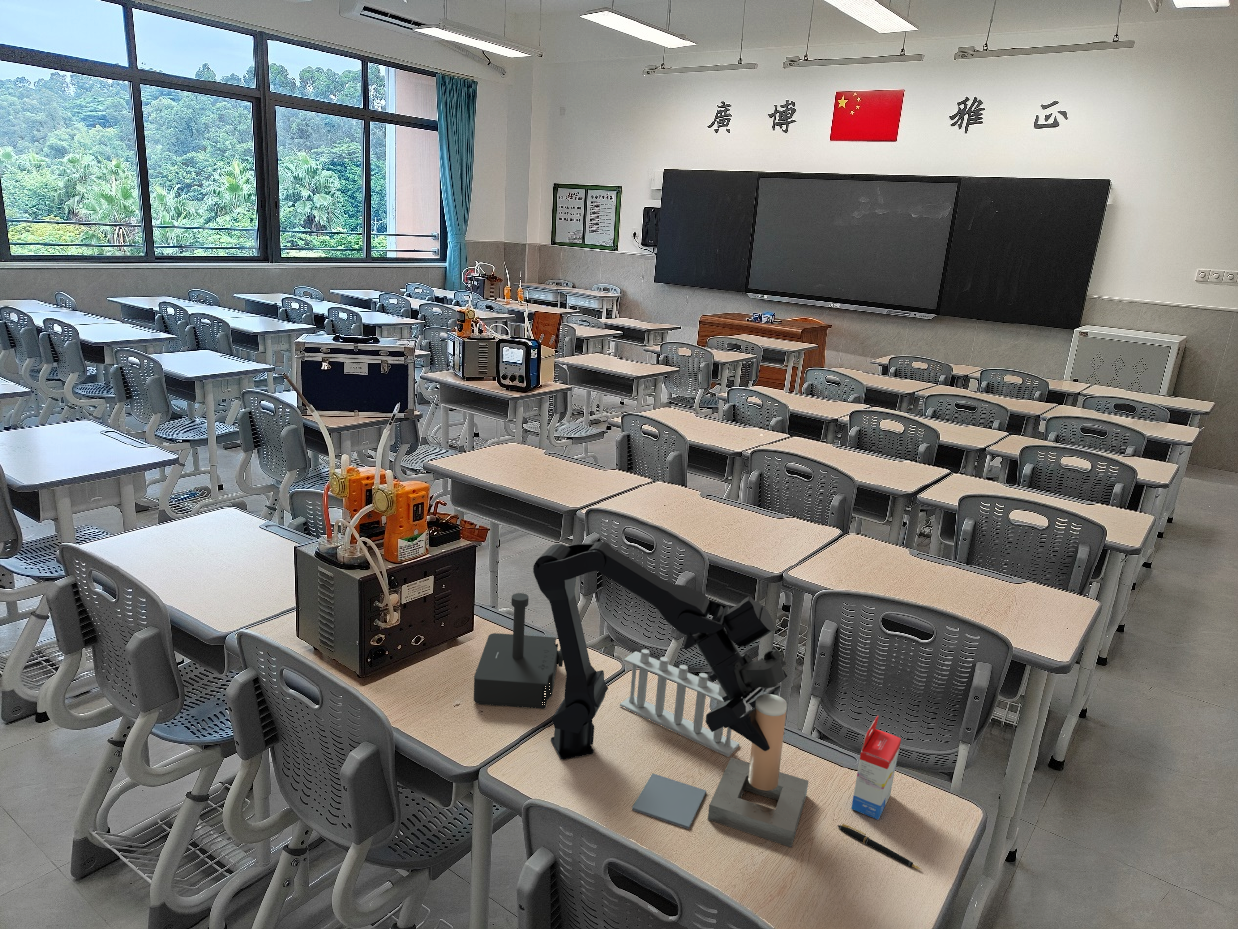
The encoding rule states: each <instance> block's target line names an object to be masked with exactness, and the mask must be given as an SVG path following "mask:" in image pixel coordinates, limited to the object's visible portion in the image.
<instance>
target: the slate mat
mask: <svg viewBox="0 0 1238 929" xmlns="http://www.w3.org/2000/svg"><path fill="white" fill-rule="evenodd" d="M706 794H707V790H706V789H703V788H699V787H696V786H693V785H691V784H688V783H684V782H681V781H678V780H674V779H671V778H668V777H666V776H663V775H659V774H656V773H652V774H651V775H650V776H649V778H648V780H647V782H646V784H645V785H644V787H643V789H642V790H641V792H640V793H639V795H638V797H637V799H635V800H636V801H635V802H634V803H633V806H632V808H631V811H634V812H637V813H640V814H642V815H646V816H648V817H650V818H651V817H652V818H654V819H658V820H660V821H662V822H666V823H669V824H671V825H675V826H678V827H681V828H684V829H687V830H690V829H691V828H690V827H691V826H692V823H693V821H694V819H695V817H696V815H697V813H698V811H699V808H700V807H701V804H702V802H703V801H704V798H705V796H706Z"/></svg>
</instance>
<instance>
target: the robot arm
mask: <svg viewBox="0 0 1238 929" xmlns="http://www.w3.org/2000/svg"><path fill="white" fill-rule="evenodd" d="M592 572H598V573H599V574H602V575H603V576H604V577H607V579H609V580H611V581H613V582H615V583H616V584H618V585H619V586H621V587H622V588H624V589H626V590H628V591H629V592H631V593H632V594H633V595H636V596H638V597H639V598H640V599H642V600H644V601H645V602H647V603H648V604H650V605H652V607H654V608H655V609H656V610H657V611H658V613H659V614H660V615H661V616H662V618H663V620H664V621H666V622H667V624H669V625H670V626H672V628H674V629H675V630H676V631H677V632H678V633H679V634H681V635H683V636H686V639H685V643H684V646H683V648H684V650H688V649H691V648H692V647H694V646H697V649H698V650H699V652H700V654H701V655H702V657H703V659H704V660H705V662H706V663H707V666H708V667H709V669H710V670H711V672H712V673H711V674H710V675H708V678H709V679H710V680H711V682H714V681H717V682H718V685H719V684H720V685H721V687H722V689H723V690H724V692H725V694H726V695H725V696H724V697H722V699H723V700H724V703H722V704H720V705H718V706H717V705H716V706H715V707H714V708H712V710H710V711H709V712H707V713H706V715H705V724H706V725H707V726H708V729H709V730H711V732H713V731H716V730H718V729H720V728H722V727H723V729H727V728H730V729H732V731H734V732H735V733H737V734H738V735H741V736H742V737H743V738H745V739H747V740H748V741H749V742H750V743H751V744H752V743H753V744H755V745H756V746H758V747H759V748H761V749H762V750H763V751H767V750H769V749H770V747H769V745H768V742H767V740H766V738H765V736H764V734H763V732H762V730H761V728H760V727H759V725H758V723H757V721H756V718H755V717H756V707H755V706H756V699H757V697H758V696H760V695H763V694H772V695H777V696H779V692H780V690H781V689H782V687H781V685H778V684H779V683H782V682H783V681H784V680H785V679H786V678H787V677H788V675H787V673H786V671H785V669H784V668H785V667H786V665H787V662H786V661H785V660H784V658H783V657H782V655H781V654H780V653H779V651H778V650H777V649H769V650H768V651H767V652H765V653H764V655H763V658H760V659H758V660H753V659H752V657H751V655H749V654H748V653H747V652H746V653H744V654H741V652H740V650H739V648H741V647H743V648H745V647H748V646H751V645H752V644H753V643H755V642H757V641H759V640H760V639H762V638H764V637H766V636H768V635H770V634H771V633H773V632H774V631H775V623H774V620H773V617H772V616H771V614H770V613H769V611H768V610H767V608H766V607H765V606H764V605H762V604H761V603H760V602H759V601H756V600H754V599H753V598H752V596H749V595H748V596H747V597H745V598H744V599H743V600H742V601H740V602H739V603H737V604H736V605H734V606H733V607H731V608H730V606H729V605H727V604H724V603H721V602H719V601H716V600H713V599H711V598H708V596H707V595H706V594H704V593H703V592H701V591H699V590H696V589H694V588H691V587H689V586H686V585H683V584H676V583H672V582H670V581H667V580H665V579H664V578H662V577H660V576H659V575H657V574H655V573H654V572H652V571H650V570H649V569H647V568H646V567H644V566H642V564H639V563H638V562H636V561H634V560H632V559H631V558H629V557H627V556H626V555H625V554H623V553H621V552H620V551H618V550H616V549H614V548H613V547H612V545H610V544H609V543H608V542H606V541H597V542H592V543H590V542H589V543H585V542H584V543H583V542H581V543H580V542H579V543H574V544H570V545H565V544H563V543H554V544H552V545H550V546H549V547H548V548H547V549H546V550H545V551H544V552H543V553H542V554H541V555H540V556H539V557H538V558H537V559H536V561H535V562H534V564H533V566H532V573H533V576H534V578H535V580H536V584H537V585H538V589H539V591H540V593H542V594H543V596H545V597H546V599H547V600H548V602H549V604H550V608H551V612H552V617H553V621H554V625H555V630H556V631H555V632H556V634H557V639H558V643H559V644H558V645H559V649H561V653H562V657H563V665H564V670H565V682H564V683H565V684H564V692H563V693H564V694H563V695H564V698H563V699H562V701H561V703H560V704H559V706H558V707H557V709H556V711H555V712H554V714H553V716H552V717H551V721H552V724H553V726H554V734H553V736H552V737H550V742H551V745H552V746H553V747H554V750H555V751H556V754H557V755H558V757H559V759H560V760H562V761H564V760H570V759H574V758H579V757H584V756H589V755H593V754H594V753H595V751H594V750H595V749H594V748H593V745H594V738H595V737H594V736H595V735H594V734H595V725H594V723H593V720H594V718H595V717H596V714H597V712H598V711H599V709H600V708H601V705H602V703H603V701H604V700H605V697H606V693H607V691H608V690H609V687H608V685H607V684H606V681H605V671H604V670H596V669H595V668H594V667H593V666H592V664H591V661H590V657H589V656H590V655H589V652H588V648H587V642H586V637H585V633H584V628H583V625H582V619H581V616H580V610H579V607H578V602H577V598H576V584H577V583H576V582H577V577H580V576H582V575H586V574H589V573H592ZM710 616H712V618H709V617H710ZM738 647H739V648H738ZM748 705H750V707H751V709H750V707H749V706H748ZM785 734H786V733H785V732H784V735H785Z"/></svg>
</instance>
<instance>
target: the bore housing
mask: <svg viewBox="0 0 1238 929" xmlns="http://www.w3.org/2000/svg"><path fill="white" fill-rule="evenodd" d="M749 766H750V762H748V761H744V760H741V759H738V758H734V757H730V759H729V761H728V763H727V766H726V768H725V770H724V772H723V774H722V776H721V778H720V780H719V782H718V785H717V787H716V790H715V791H714V794H713V796H712V797H711V800H710V802H709V806H708V807H709V808H708V814H707V821H712V822H714V823H717V824H720V825H722V826H725V827H729V828H732V829H735V830H738V831H741V832H744V833H747V834H750V835H753V836H756V837H759V838H762V839H766V840H768V841H771V842H774V843H776V844H780V845H782V846H786V847H789V848H792V847H793V843H794V839H795V836H796V833H797V830H798V827H799V824H800V823H799V822H800V820H801V815H802V811H803V808H804V806H805V801H806V799H807V798H806V797H807V794H808V793H807V792H808V787H809V780H808V779H804V778H800V777H798V776H795V775H791V774H788V773H785V772H781V771H779V780H778V786H777V787H776V788H775V789H773V790H768V791H765V790H759V789H757V788H755V787H753V786H752V785H751V784H750V783H749V781H748V776H749ZM745 791H746V792H748V793H749V792H750V793H752V794H755V795H759V796H762V797H765V798H768V799H772V800H775V801H777V803H776V807H775V808H771V807H768V806H764V805H762V804H758V803H755V802H753V801H749V800H746V799H744V798H743V795H744V792H745Z"/></svg>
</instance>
